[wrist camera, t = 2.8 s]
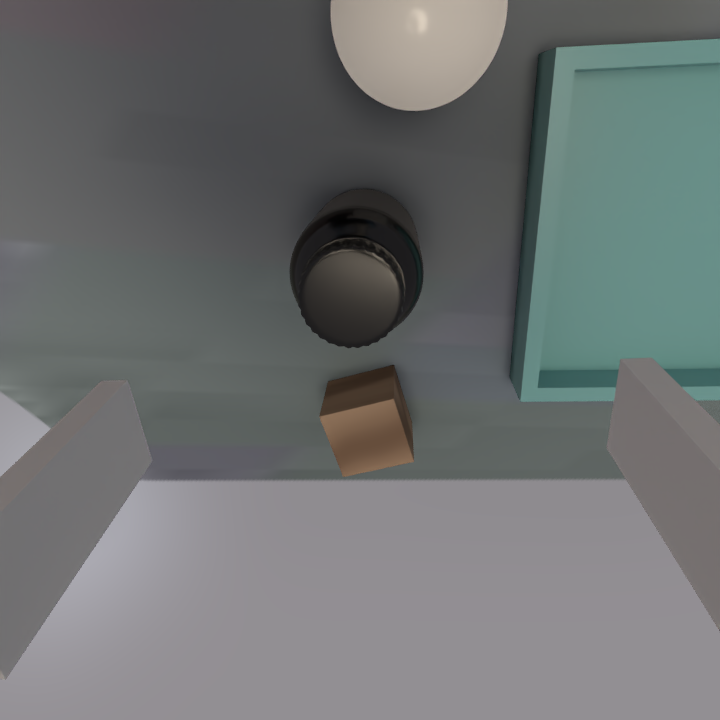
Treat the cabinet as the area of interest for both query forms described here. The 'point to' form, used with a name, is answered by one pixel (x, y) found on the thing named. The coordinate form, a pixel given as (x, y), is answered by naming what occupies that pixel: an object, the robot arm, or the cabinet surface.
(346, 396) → the walnut block
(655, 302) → the tray
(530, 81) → the cabinet surface
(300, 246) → the supplement bottle
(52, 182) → the cabinet surface
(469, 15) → the cream round piece
